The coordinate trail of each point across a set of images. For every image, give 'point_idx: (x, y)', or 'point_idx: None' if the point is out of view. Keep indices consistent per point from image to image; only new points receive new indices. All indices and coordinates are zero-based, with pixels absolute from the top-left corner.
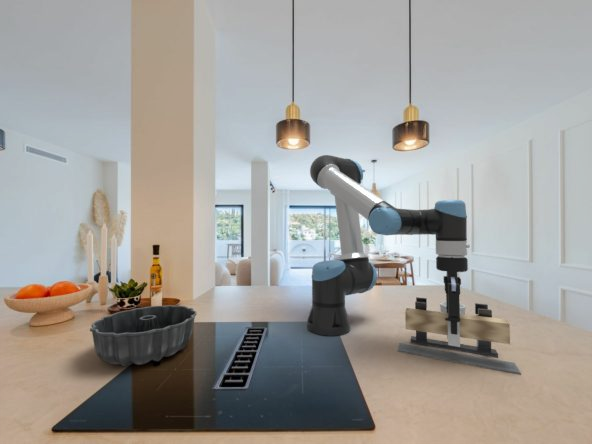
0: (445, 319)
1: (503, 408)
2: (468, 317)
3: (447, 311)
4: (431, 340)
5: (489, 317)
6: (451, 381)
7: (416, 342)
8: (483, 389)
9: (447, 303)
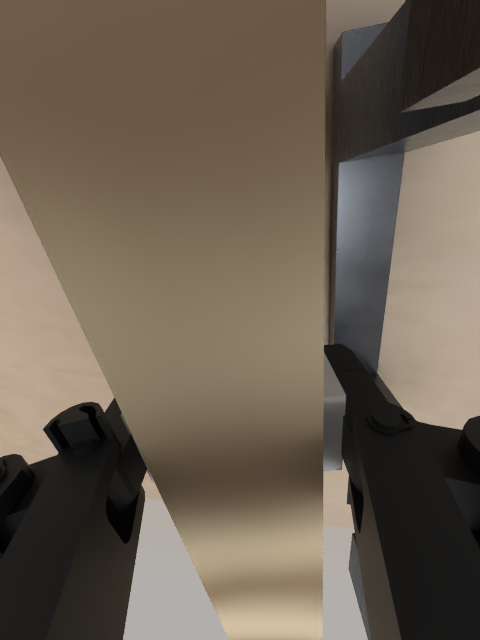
0: (55, 418)
1: (20, 405)
2: (235, 552)
3: (359, 438)
4: (377, 186)
5: (320, 614)
6: (40, 304)
7: (335, 91)
8: (73, 376)
9: (395, 622)
